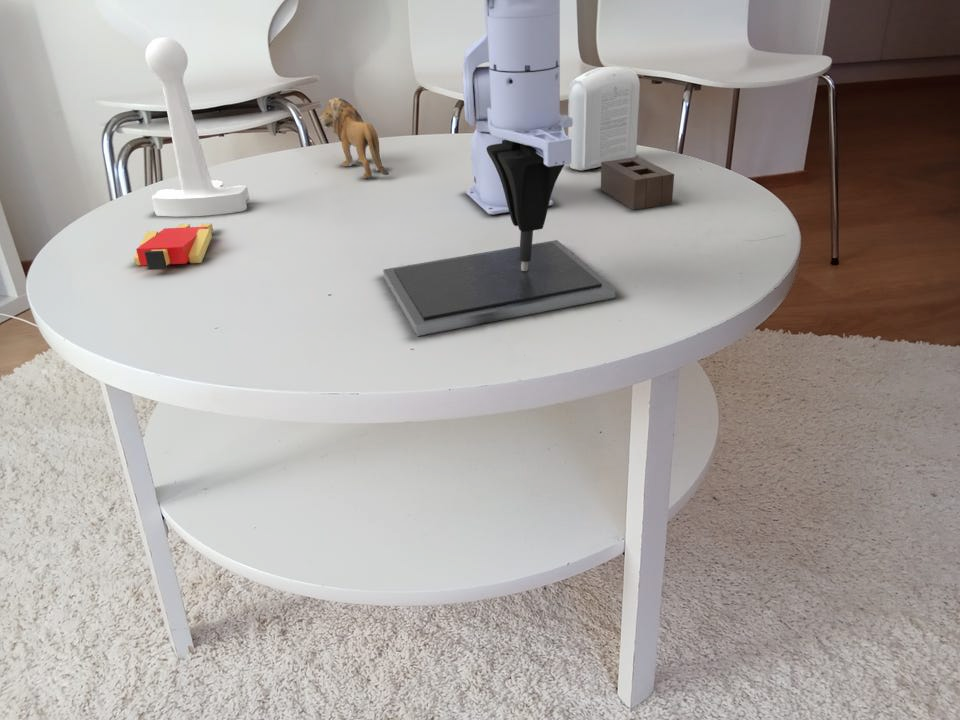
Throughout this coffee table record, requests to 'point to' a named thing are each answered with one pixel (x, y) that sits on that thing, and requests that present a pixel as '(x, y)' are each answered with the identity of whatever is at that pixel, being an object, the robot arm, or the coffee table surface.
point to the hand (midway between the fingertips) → (527, 226)
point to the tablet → (493, 287)
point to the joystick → (187, 145)
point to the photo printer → (603, 116)
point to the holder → (637, 183)
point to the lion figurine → (353, 134)
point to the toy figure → (174, 246)
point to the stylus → (525, 249)
